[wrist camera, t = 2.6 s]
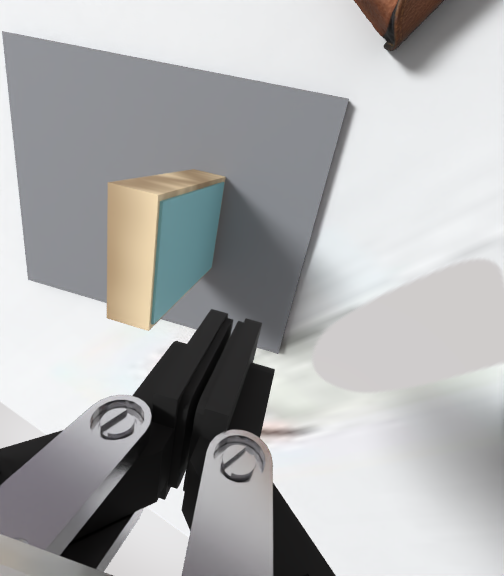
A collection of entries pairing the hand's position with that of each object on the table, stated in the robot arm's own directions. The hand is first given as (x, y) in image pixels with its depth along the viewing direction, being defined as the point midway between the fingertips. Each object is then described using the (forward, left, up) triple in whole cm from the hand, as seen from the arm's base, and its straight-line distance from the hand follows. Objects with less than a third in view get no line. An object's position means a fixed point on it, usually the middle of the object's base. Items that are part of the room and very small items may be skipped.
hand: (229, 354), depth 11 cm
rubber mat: (+10, 0, -15) cm, 19 cm away
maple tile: (+6, 0, -15) cm, 16 cm away
